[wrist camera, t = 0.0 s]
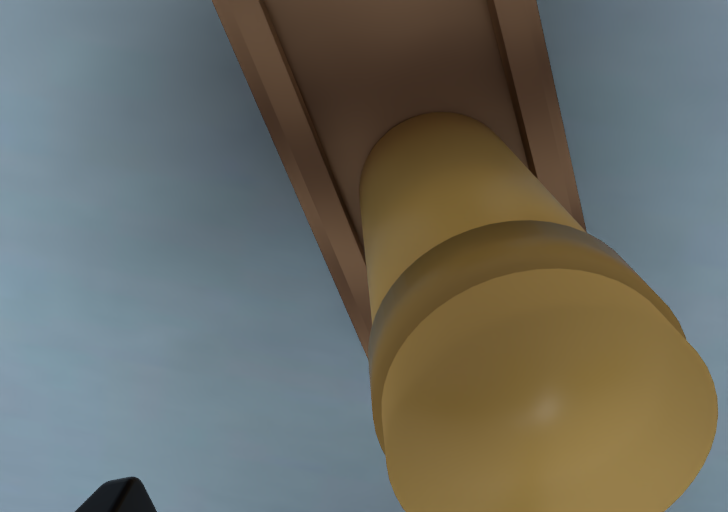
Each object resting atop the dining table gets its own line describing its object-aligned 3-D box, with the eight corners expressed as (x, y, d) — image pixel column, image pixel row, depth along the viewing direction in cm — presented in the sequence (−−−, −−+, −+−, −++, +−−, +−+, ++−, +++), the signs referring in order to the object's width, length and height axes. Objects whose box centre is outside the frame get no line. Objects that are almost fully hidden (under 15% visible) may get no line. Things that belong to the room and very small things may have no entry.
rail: (587, 274, 24) (766, 498, 14) (368, 346, 25) (390, 602, 15) (453, -323, 16) (645, -785, 6) (140, -183, 17) (-132, -383, 7)
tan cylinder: (535, 234, 21) (741, 515, 11) (385, 284, 22) (435, 599, 11) (496, 81, 19) (708, 241, 8) (330, 142, 20) (323, 366, 9)
